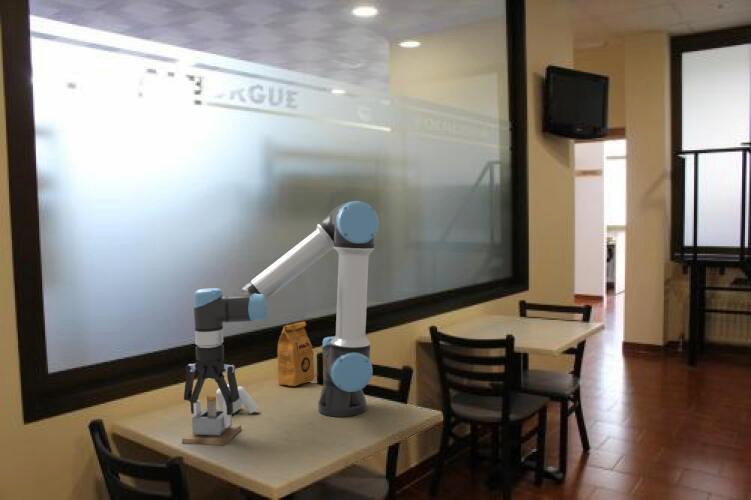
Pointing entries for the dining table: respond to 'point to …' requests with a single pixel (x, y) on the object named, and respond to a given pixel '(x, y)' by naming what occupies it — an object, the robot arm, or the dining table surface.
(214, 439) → the keeper
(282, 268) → the robot arm
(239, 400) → the wall hook
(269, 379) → the dining table surface
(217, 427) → the link
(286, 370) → the coffee package
